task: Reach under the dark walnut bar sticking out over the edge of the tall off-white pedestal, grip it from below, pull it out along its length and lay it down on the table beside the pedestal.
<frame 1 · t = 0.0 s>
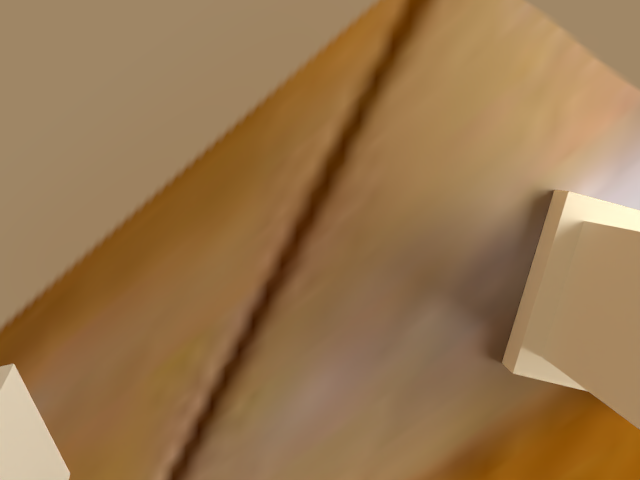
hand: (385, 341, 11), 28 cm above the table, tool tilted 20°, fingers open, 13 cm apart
white pedestal: (611, 299, 41), on the table
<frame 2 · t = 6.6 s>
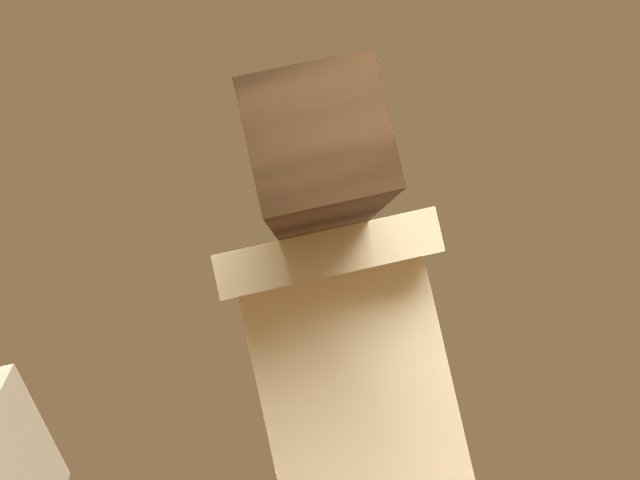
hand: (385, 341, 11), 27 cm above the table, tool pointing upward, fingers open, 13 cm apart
walnut bar: (322, 233, 29), point 30 cm above the table, touching white pedestal
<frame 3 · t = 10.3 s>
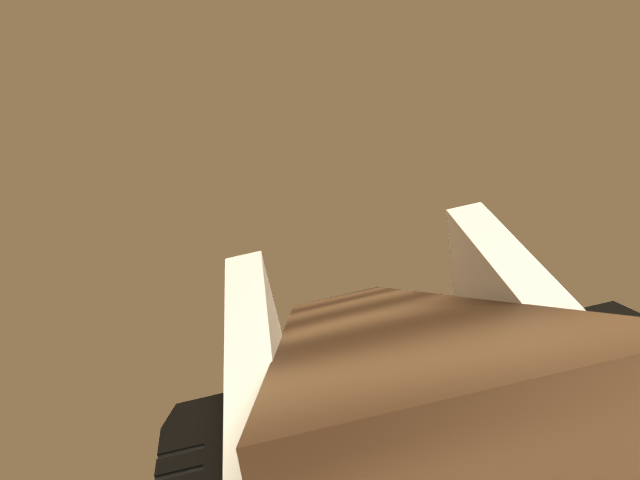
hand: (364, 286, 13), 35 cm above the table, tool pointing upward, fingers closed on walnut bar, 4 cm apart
walnut bar: (390, 455, 16), point 30 cm above the table, touching gripper, white pedestal
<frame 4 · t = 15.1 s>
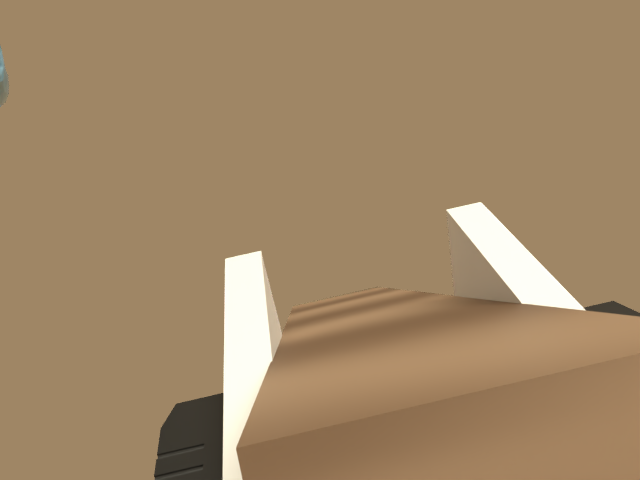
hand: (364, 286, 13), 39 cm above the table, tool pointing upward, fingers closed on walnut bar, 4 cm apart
walnut bar: (390, 455, 16), point 34 cm above the table, touching gripper
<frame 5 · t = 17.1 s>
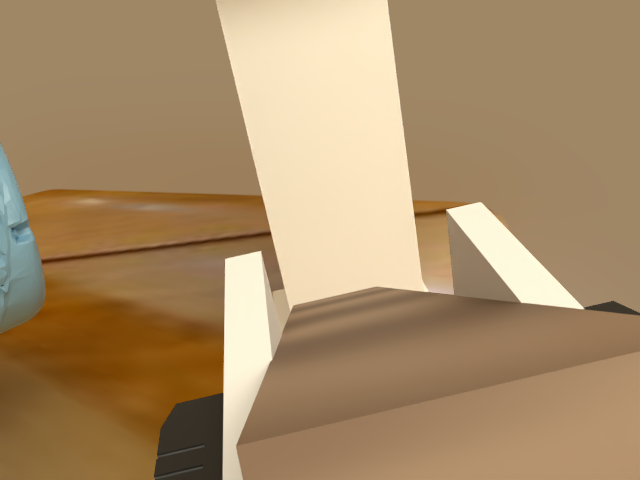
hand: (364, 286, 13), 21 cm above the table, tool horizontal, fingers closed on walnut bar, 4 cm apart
white pedestal: (358, 334, 47), on the table
walnut bar: (390, 455, 16), point 15 cm above the table, tilted 29°, touching gripper
when the fingers open (10 cm above the table, at t = 19.9 s): walnut bar drops 5 cm, on the table.
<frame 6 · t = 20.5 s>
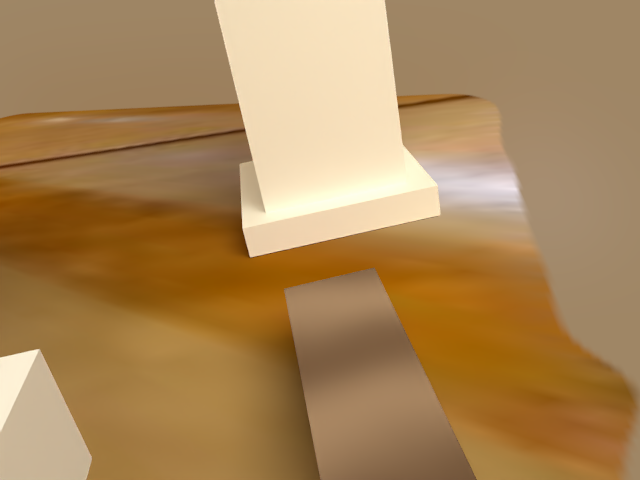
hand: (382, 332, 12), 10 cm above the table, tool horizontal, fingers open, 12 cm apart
white pedestal: (331, 199, 43), on the table
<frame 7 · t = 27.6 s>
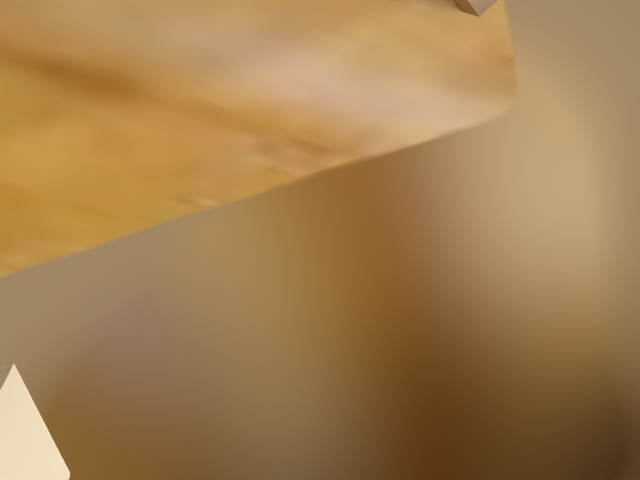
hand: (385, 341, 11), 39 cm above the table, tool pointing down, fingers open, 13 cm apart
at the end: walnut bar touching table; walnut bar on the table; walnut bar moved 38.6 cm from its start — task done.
